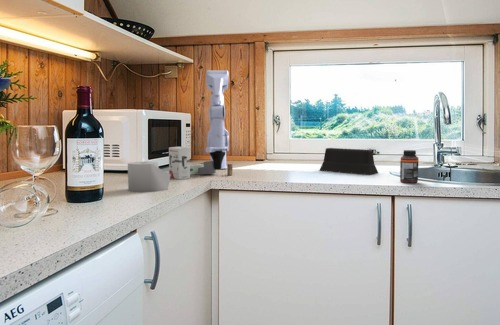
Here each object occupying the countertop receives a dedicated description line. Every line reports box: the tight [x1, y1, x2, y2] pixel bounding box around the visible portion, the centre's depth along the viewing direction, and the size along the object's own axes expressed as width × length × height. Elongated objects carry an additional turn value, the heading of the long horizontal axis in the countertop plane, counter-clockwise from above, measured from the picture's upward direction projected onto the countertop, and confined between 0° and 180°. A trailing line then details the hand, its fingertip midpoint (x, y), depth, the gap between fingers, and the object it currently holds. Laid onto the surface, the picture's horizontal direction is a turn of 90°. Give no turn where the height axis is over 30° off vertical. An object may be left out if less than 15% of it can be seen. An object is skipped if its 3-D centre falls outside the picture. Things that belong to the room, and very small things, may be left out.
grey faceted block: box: [198, 160, 217, 176], centre depth 173 cm, size 4×6×5 cm, turn 77°
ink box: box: [168, 146, 191, 180], centre depth 163 cm, size 9×5×12 cm, turn 37°
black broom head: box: [318, 147, 379, 176], centre depth 181 cm, size 24×9×10 cm, turn 49°
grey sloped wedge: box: [127, 161, 171, 193], centre depth 136 cm, size 9×13×9 cm
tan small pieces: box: [199, 162, 233, 177], centre depth 176 cm, size 18×1×4 cm, turn 46°
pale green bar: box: [190, 164, 204, 175], centre depth 174 cm, size 10×2×4 cm, turn 138°
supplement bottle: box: [399, 149, 419, 184], centre depth 150 cm, size 6×6×11 cm
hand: (217, 169), depth 172 cm, fingers closed, pressing on grey faceted block
